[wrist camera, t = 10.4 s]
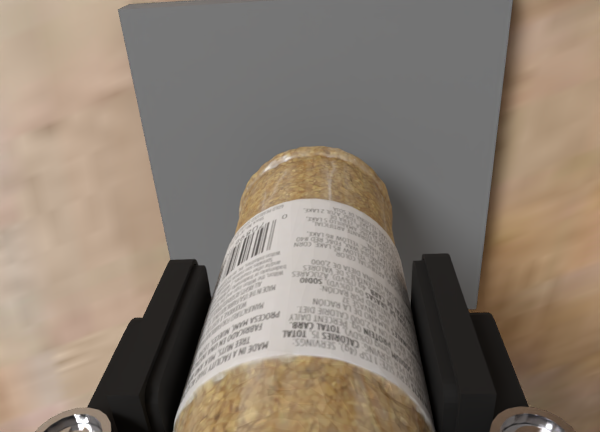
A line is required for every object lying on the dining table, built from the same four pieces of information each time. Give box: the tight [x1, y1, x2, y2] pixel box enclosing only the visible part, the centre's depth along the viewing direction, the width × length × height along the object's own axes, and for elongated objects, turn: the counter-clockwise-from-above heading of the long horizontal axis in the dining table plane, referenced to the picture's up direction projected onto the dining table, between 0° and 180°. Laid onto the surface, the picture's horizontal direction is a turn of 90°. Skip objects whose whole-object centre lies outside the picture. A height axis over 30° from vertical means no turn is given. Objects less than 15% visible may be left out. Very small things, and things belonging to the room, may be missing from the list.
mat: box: [118, 0, 513, 309], centre depth 18 cm, size 11×11×1 cm
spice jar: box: [173, 146, 436, 432], centre depth 11 cm, size 5×5×13 cm
